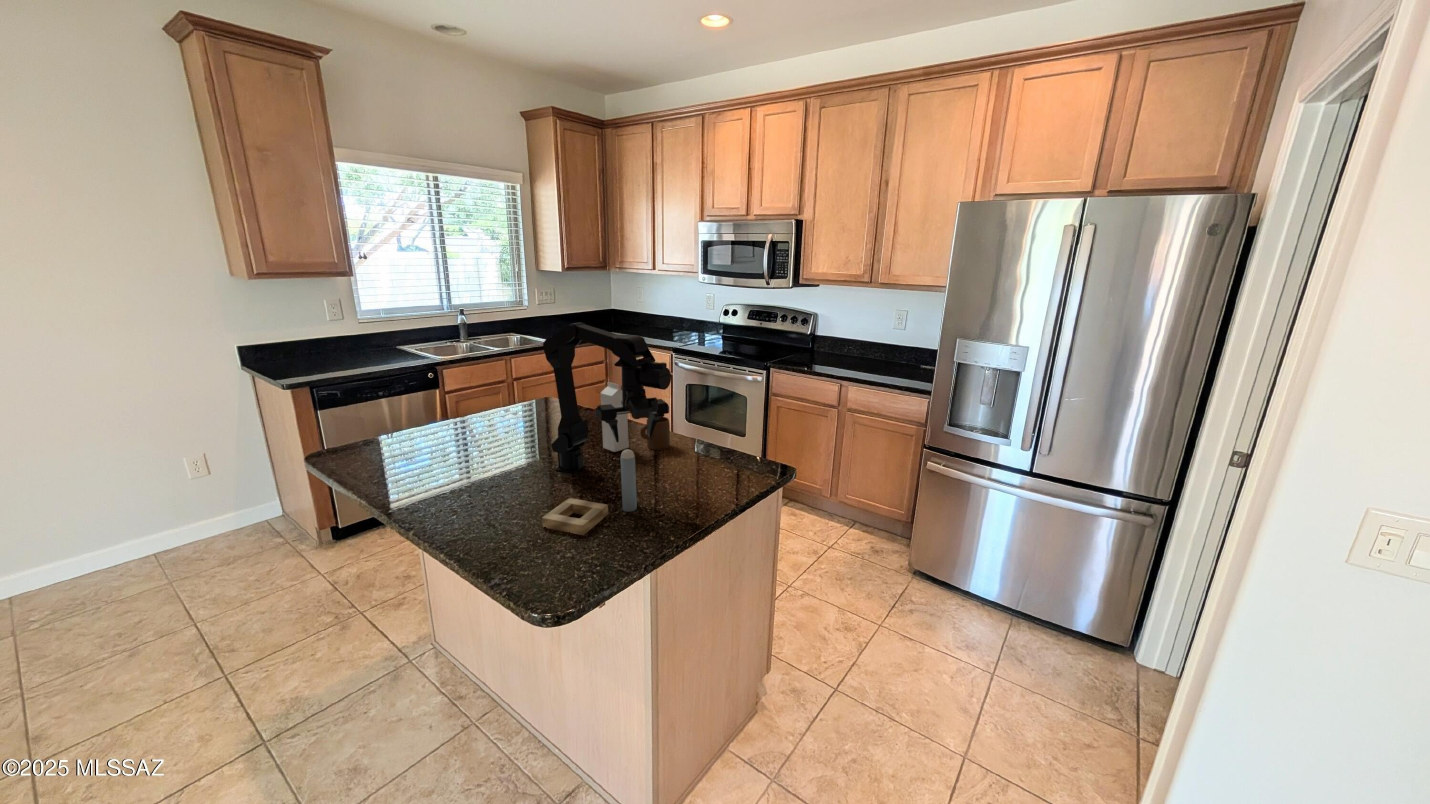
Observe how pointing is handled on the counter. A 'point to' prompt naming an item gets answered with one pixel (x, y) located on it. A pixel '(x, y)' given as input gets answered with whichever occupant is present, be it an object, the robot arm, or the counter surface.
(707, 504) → the counter surface
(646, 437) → the mug
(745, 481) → the counter surface
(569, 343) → the robot arm
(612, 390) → the milk
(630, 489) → the blue-grey cylinder
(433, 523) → the counter surface
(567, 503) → the wooden square frame
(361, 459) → the counter surface
